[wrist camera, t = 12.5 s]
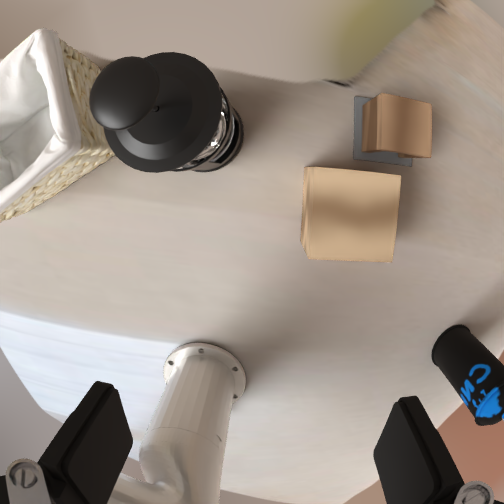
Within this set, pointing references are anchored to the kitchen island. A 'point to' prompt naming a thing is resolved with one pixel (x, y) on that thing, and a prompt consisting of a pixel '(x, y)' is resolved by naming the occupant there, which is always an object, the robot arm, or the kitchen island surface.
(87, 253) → the kitchen island surface
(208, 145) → the french press
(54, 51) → the storage basket
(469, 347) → the aerosol can
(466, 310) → the kitchen island surface
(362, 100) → the coaster
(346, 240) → the plinth
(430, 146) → the u-shaped wooden block
